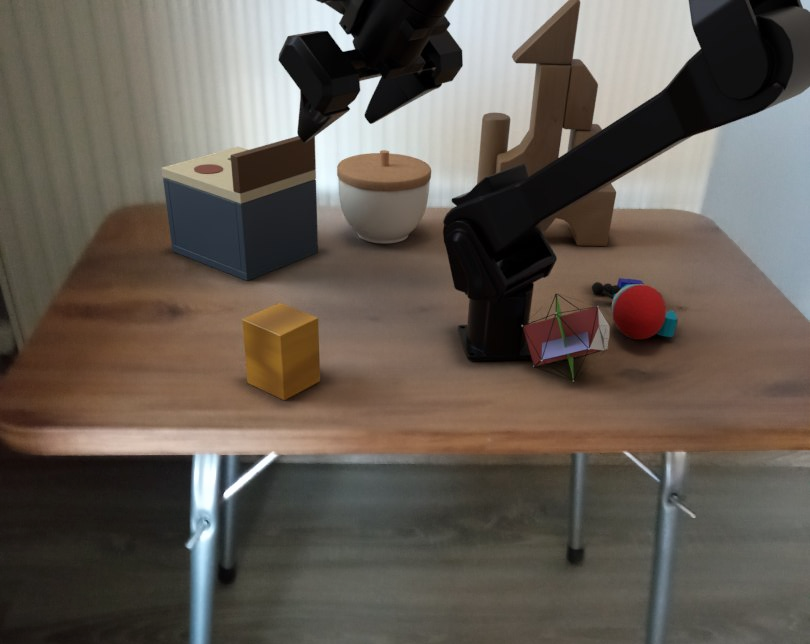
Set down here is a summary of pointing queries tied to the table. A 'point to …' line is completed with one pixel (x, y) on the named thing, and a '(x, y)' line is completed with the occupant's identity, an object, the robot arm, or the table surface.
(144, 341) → the table surface
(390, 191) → the trinket box
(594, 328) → the geometric puzzle
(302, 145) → the lid
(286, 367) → the block
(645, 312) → the toy figure
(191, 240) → the box
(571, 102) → the wooden toy
